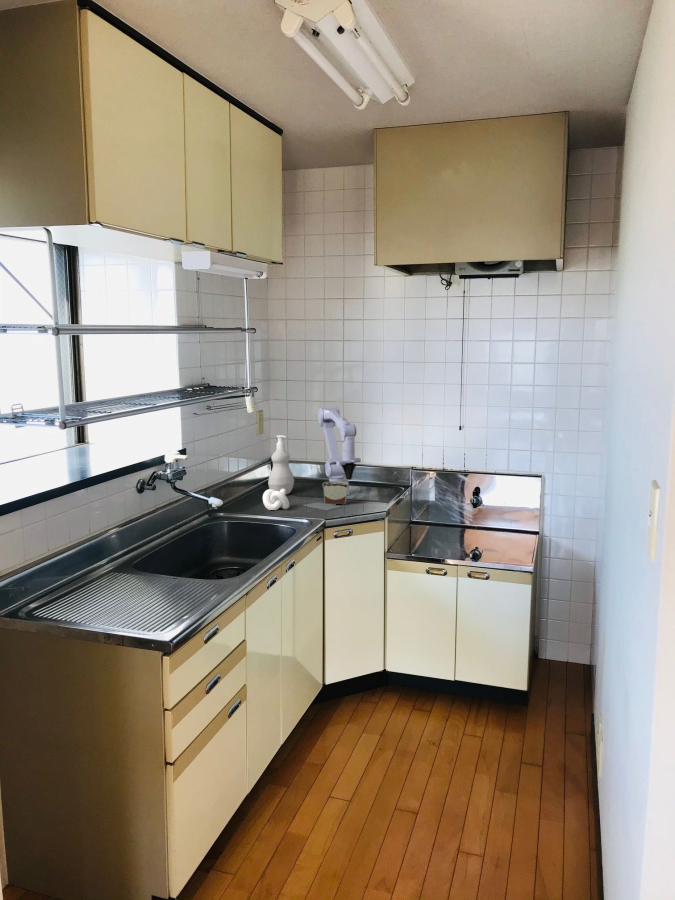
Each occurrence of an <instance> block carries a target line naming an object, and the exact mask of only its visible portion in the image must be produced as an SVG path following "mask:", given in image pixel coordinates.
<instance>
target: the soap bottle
mask: <svg viewBox="0 0 675 900" xmlns="http://www.w3.org/2000/svg"><path fill="white" fill-rule="evenodd" d="M275 437H276V438H277V442H276V448H275V451H274V452H273V453H272V455H271V461H272V469H271V470H270V474H269V475H268V481H267V484H268V488H269V489H273V490H275V491H280V490H281V489H285V490H286V495H288V494H290V493H291V492H292V491H293V488H294V483H295V478H294V475H293V472H292V469H291V468H290V466H289V462H290V457H291V456H290V454H289V452H288V451H286V449H285V442H284V441H283V438H284V439H285V438H288V437H287V436H286V435H283V434H278V435H276V436H275Z"/></svg>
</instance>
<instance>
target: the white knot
mask: <svg viewBox="0 0 675 900" xmlns="http://www.w3.org/2000/svg"><path fill="white" fill-rule="evenodd" d="M286 495H287V494H286V490H285V489H281V490H280V491H275V490H273V489H266V490H265V491H264V492H263V493H262V502H263V505H264V507H265V508H266V509H267V510H268V511H270V510H275V511H277V510H279V508H281V509H283V510H288V509H289V507H290V501H289V499H288V496H286Z"/></svg>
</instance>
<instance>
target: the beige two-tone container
mask: <svg viewBox="0 0 675 900" xmlns="http://www.w3.org/2000/svg"><path fill="white" fill-rule="evenodd" d="M347 487H348V488H349V487H350V485H349V486H348V483H346V482H339V481H329V480H328V481H324V482H322V486H321V488H323V496H324V497H323V499H324V503H325V504H330V505H336V504H345V505H346V502H347V495H346V494H347ZM349 489H350V488H349ZM336 506H337V505H336Z"/></svg>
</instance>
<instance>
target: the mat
mask: <svg viewBox="0 0 675 900" xmlns="http://www.w3.org/2000/svg"><path fill="white" fill-rule="evenodd" d="M302 506H303V507H306V506H307V508H312V509H316V508H317V510H323V511H327V512H328V511H332V510H336V509H341V508H340V506H341V505H331V504H325V502H318V501H317V502H312V503H307V504H303V505H302Z"/></svg>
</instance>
